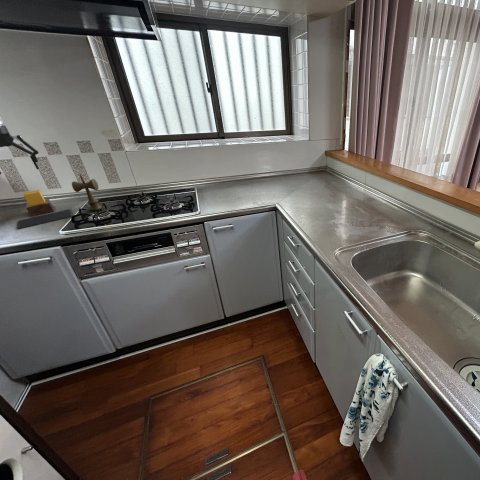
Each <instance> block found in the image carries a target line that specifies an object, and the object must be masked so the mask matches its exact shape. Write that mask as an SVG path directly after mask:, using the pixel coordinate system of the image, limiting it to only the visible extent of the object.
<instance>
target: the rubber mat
mask: <svg viewBox="0 0 480 480" xmlns="http://www.w3.org/2000/svg"><path fill="white" fill-rule="evenodd" d="M67 218H72V213H71V210H70V209H64V210H60V211H54V212H50V213H46V214H41V215H36V216H32V217H29V218H24V219H23V218H22V219H20V220H18V222H17V230H21V229H26V228H29V227H35V226H37V225H38V226H39V225H43V224H47V223H51V222H56V221H59V220H64V219H67Z"/></svg>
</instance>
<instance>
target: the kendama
mask: <svg viewBox="0 0 480 480" xmlns="http://www.w3.org/2000/svg"><path fill="white" fill-rule="evenodd" d="M78 175H79V178H80V180H81V182H79V181H75V180H74V181H72V182H71V187H72V189H73V191H74V192H75V193H79V192H80V191H82V190H84V189H85V193H86V195H87V204H89V206H90V209H89V210H90V212H91V211H92V212H96V211H100V210H102V209H103V206H101V205H100V204H99V200H98V199H97V198H96V197H94V195H93V194H92V192H91V190H94V191H99V183H98V181H97V180H96V179H95V178H91V179H90V180H89V181H88V182H86V181H85V180H84V177H83V176H82V174H81V173H79V174H78ZM90 189H91V190H90Z"/></svg>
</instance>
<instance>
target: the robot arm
mask: <svg viewBox="0 0 480 480" xmlns="http://www.w3.org/2000/svg"><path fill="white" fill-rule="evenodd" d="M14 140H17V141H19V142H21V144H23V145H24V146H26V148H25V147H24V146H21V145H20V144H18V143H16V142H14ZM11 146H12V147H15V148H16V149H19V150H20V151H22V152H24V153H26V154H28V155H29V158H30V159H31V161H32V163H33V165H34V167H35V168H36V170H40V168H39V165H38V164H37V163H38V162H39V159H38V158H37V155H39V154H40V153H39V150H37V149H36V148H35V147H34V146H32V145H30V144H29V143H28V142H27V141H26V140H25V139H24V138H23V137H22V136H21V135H20V134H17V135H11V133H10V131H9V130H8V128H7V126H6V125H5V123H4V121H3V119H2V117H1V116H0V148H5V147H11ZM27 148H28V149H27ZM0 175H2V172H1V171H0Z"/></svg>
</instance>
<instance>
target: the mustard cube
mask: <svg viewBox="0 0 480 480" xmlns="http://www.w3.org/2000/svg"><path fill="white" fill-rule="evenodd" d="M23 197H24V199H25V200H26V203H28V204H29V205H30V206H33V205H38V204H43V203H45V197H44V195H43V194H42V192H41V190H40V189H36V190H30V191H24V192H23Z"/></svg>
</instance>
